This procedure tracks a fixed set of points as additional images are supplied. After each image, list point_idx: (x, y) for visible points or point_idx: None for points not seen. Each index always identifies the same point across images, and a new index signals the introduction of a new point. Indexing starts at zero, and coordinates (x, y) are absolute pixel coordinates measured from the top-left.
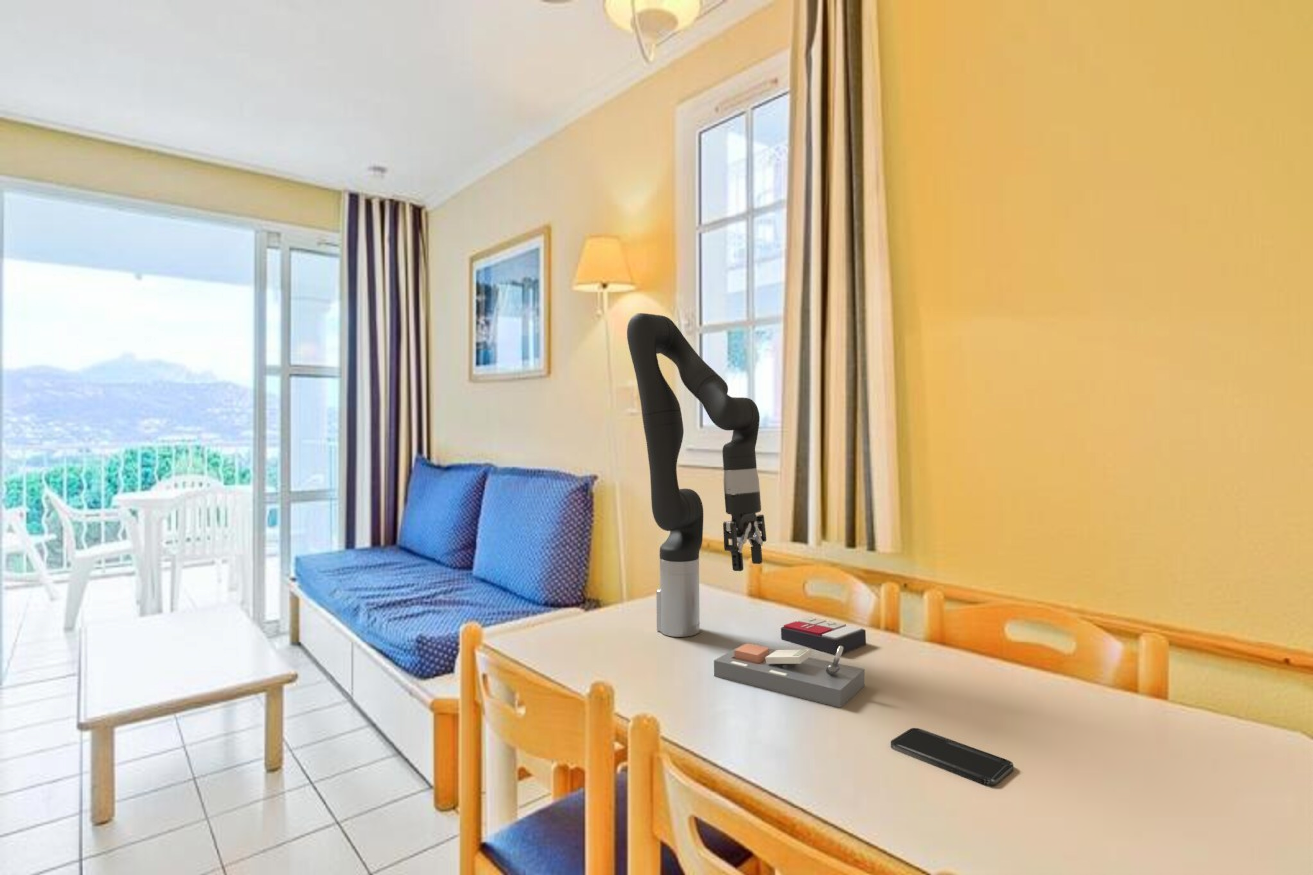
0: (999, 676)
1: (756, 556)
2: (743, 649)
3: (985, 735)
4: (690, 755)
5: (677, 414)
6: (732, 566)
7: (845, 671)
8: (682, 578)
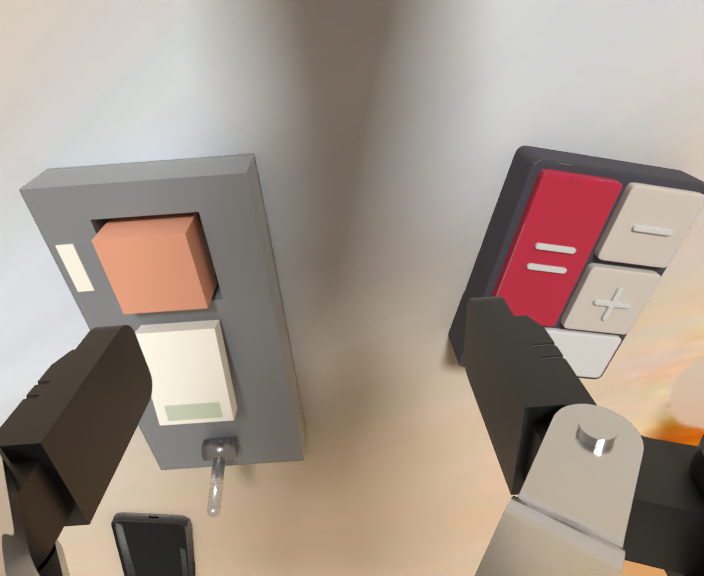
0: (494, 528)
1: (482, 377)
2: (124, 258)
3: (253, 555)
4: None
5: None
6: (53, 364)
7: (261, 445)
8: None
